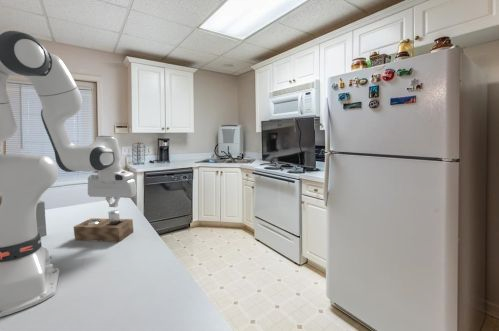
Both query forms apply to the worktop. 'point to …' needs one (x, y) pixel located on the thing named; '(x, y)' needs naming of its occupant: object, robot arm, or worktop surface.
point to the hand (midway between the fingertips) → (113, 206)
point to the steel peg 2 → (114, 217)
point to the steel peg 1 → (93, 222)
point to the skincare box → (41, 218)
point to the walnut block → (103, 230)
